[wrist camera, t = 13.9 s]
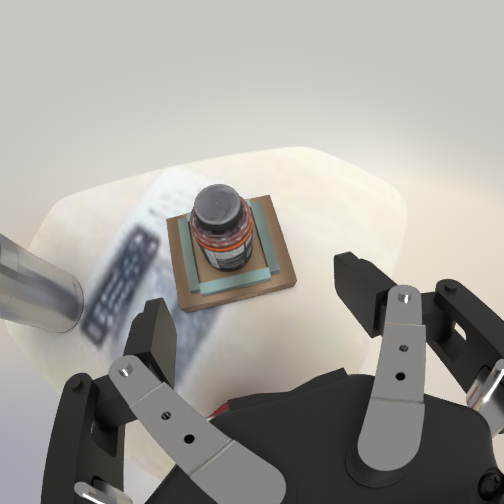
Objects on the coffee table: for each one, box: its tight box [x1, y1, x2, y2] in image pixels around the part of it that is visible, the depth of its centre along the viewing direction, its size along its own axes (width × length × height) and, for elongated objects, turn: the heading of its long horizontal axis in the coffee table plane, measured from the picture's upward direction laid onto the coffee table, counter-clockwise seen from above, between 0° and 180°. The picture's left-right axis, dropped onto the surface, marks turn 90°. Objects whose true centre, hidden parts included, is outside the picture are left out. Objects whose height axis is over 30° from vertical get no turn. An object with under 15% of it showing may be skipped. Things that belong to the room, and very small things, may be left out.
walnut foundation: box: [166, 195, 297, 312], centre depth 34 cm, size 14×12×4 cm
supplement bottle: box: [190, 184, 253, 271], centre depth 28 cm, size 6×6×11 cm
